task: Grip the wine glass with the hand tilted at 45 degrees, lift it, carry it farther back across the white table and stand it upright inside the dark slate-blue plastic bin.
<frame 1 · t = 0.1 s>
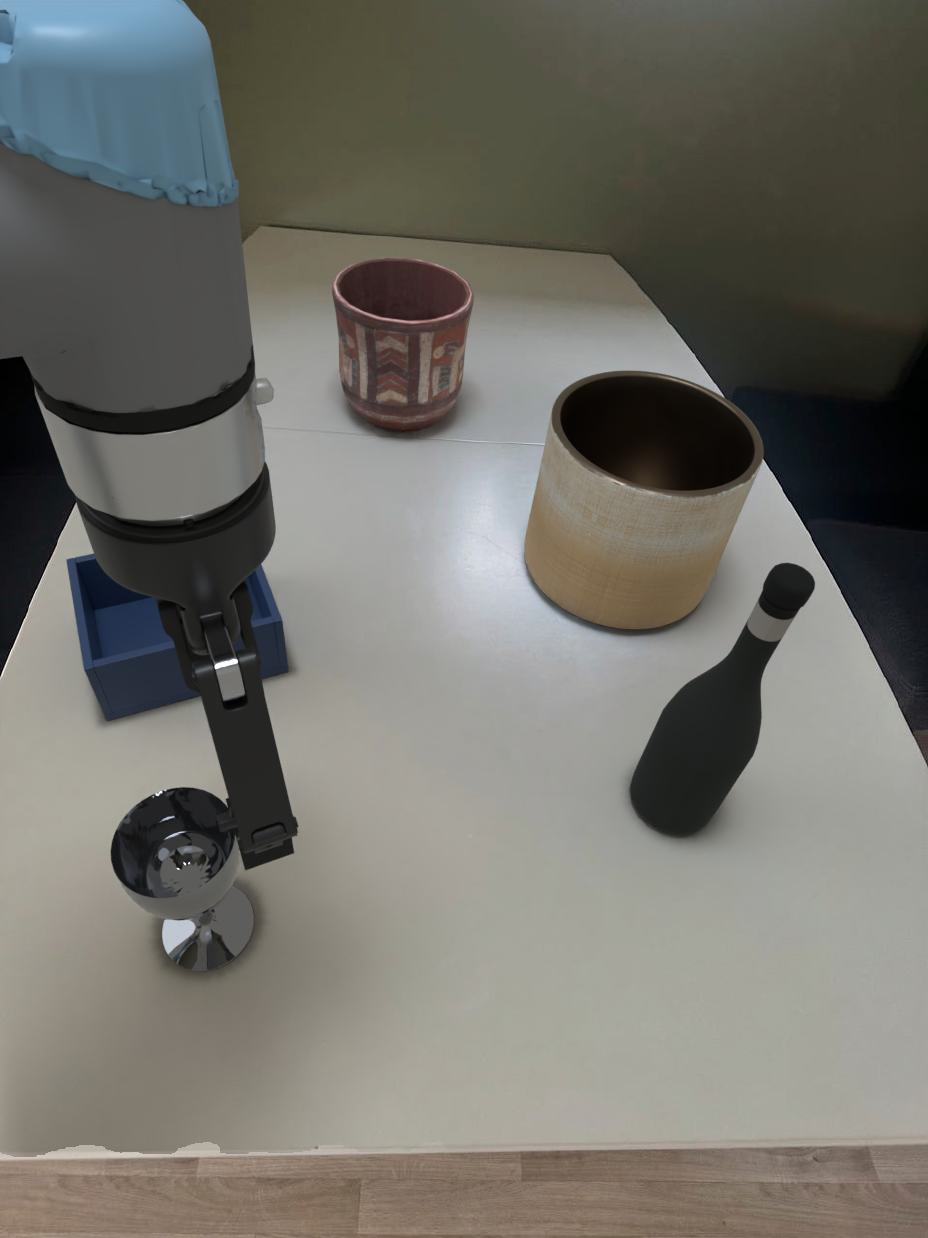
hand: (238, 756, 48), 24 cm above the table, tool pointing down, fingers open, 13 cm apart
planter: (612, 568, 96), on the table
wine bottle: (669, 800, 75), on the table
wine glass: (208, 926, 64), on the table
pottery: (400, 410, 114), on the table
bin: (186, 642, 83), on the table
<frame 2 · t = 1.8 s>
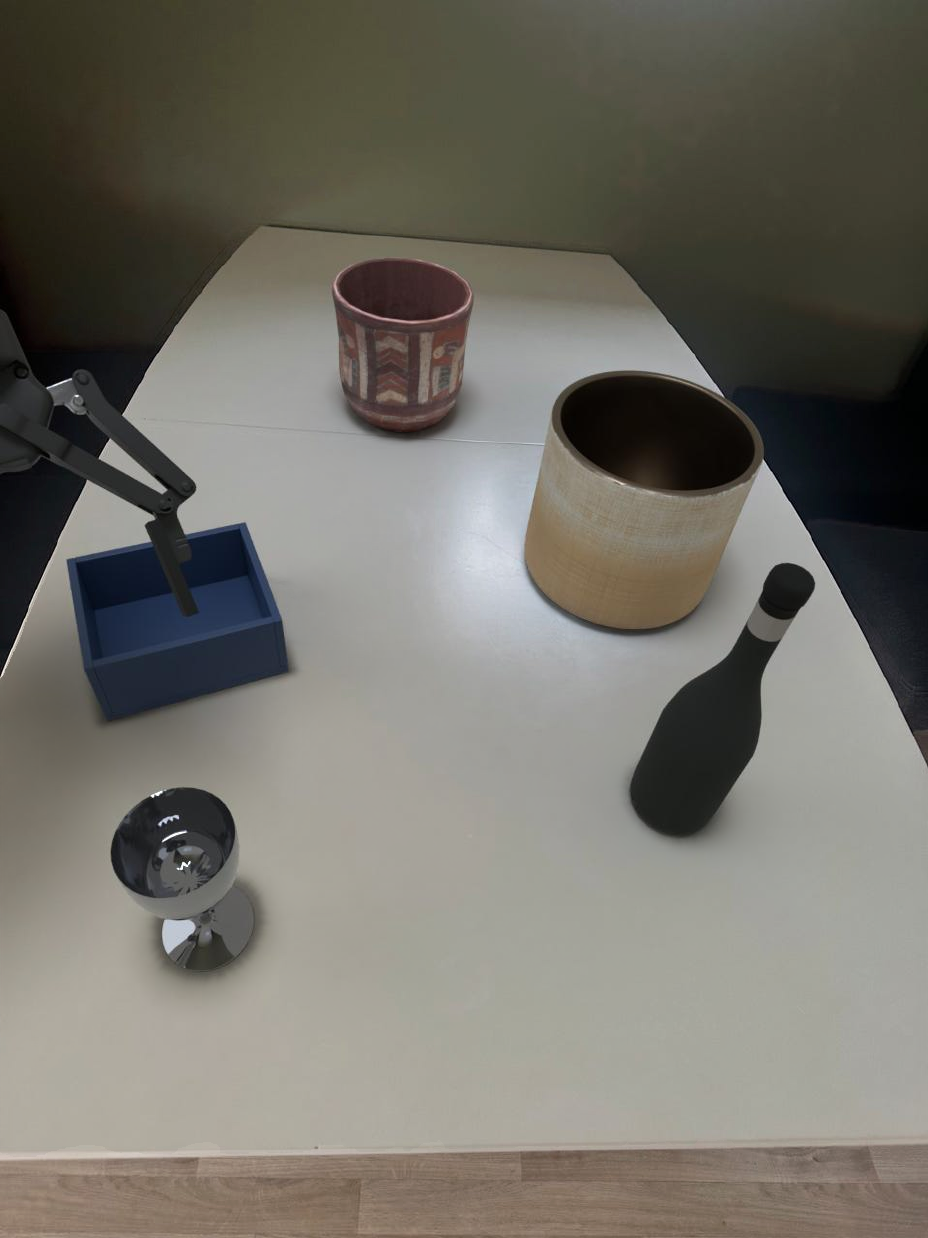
hand: (86, 655, 50), 25 cm above the table, tool tilted 45°, fingers open, 13 cm apart
nothing on the table moved.
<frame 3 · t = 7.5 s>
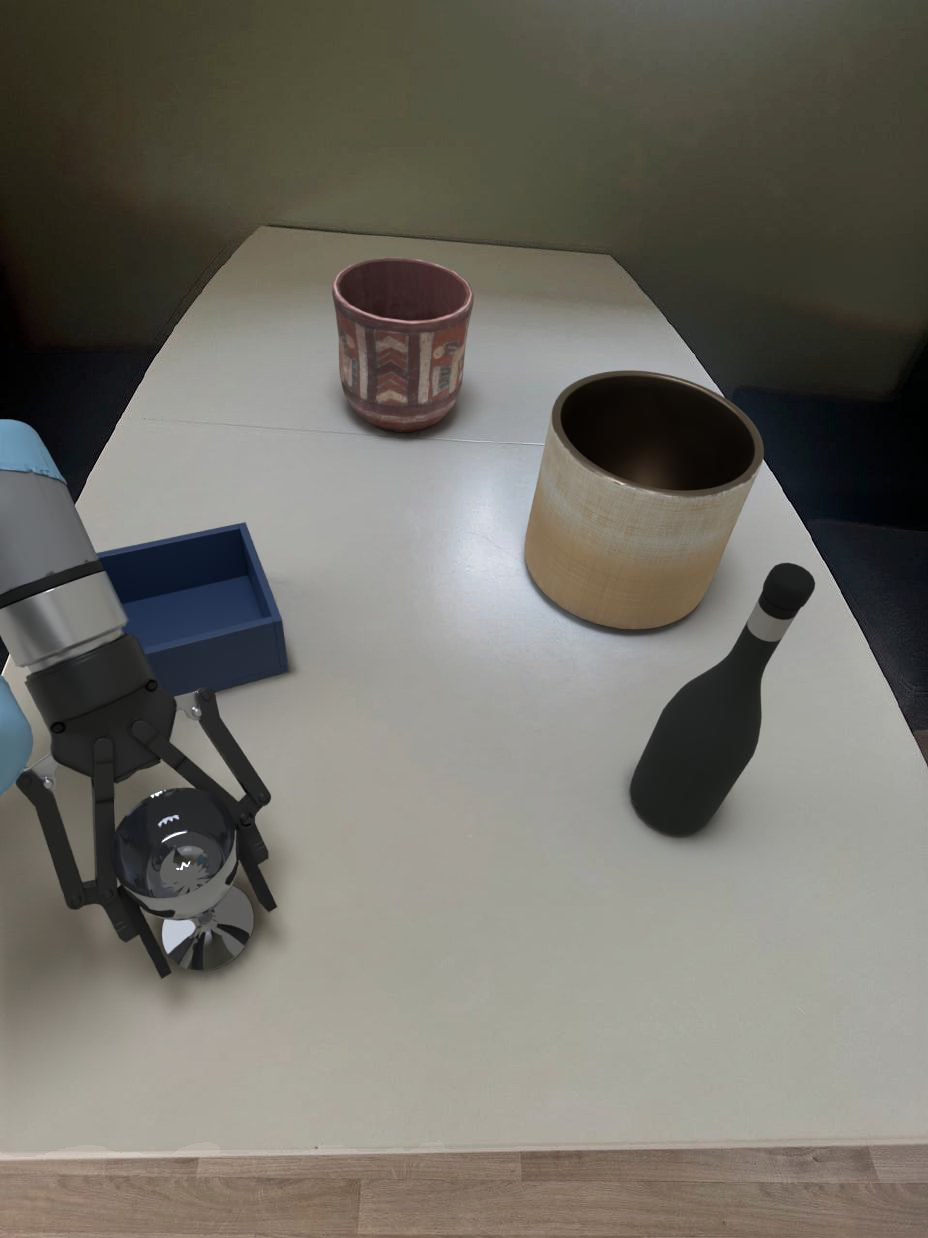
hand: (217, 935, 58), 6 cm above the table, tool tilted 45°, fingers closed on wine glass, 7 cm apart
wine glass: (208, 926, 64), on the table, touching gripper
everything else where it was.
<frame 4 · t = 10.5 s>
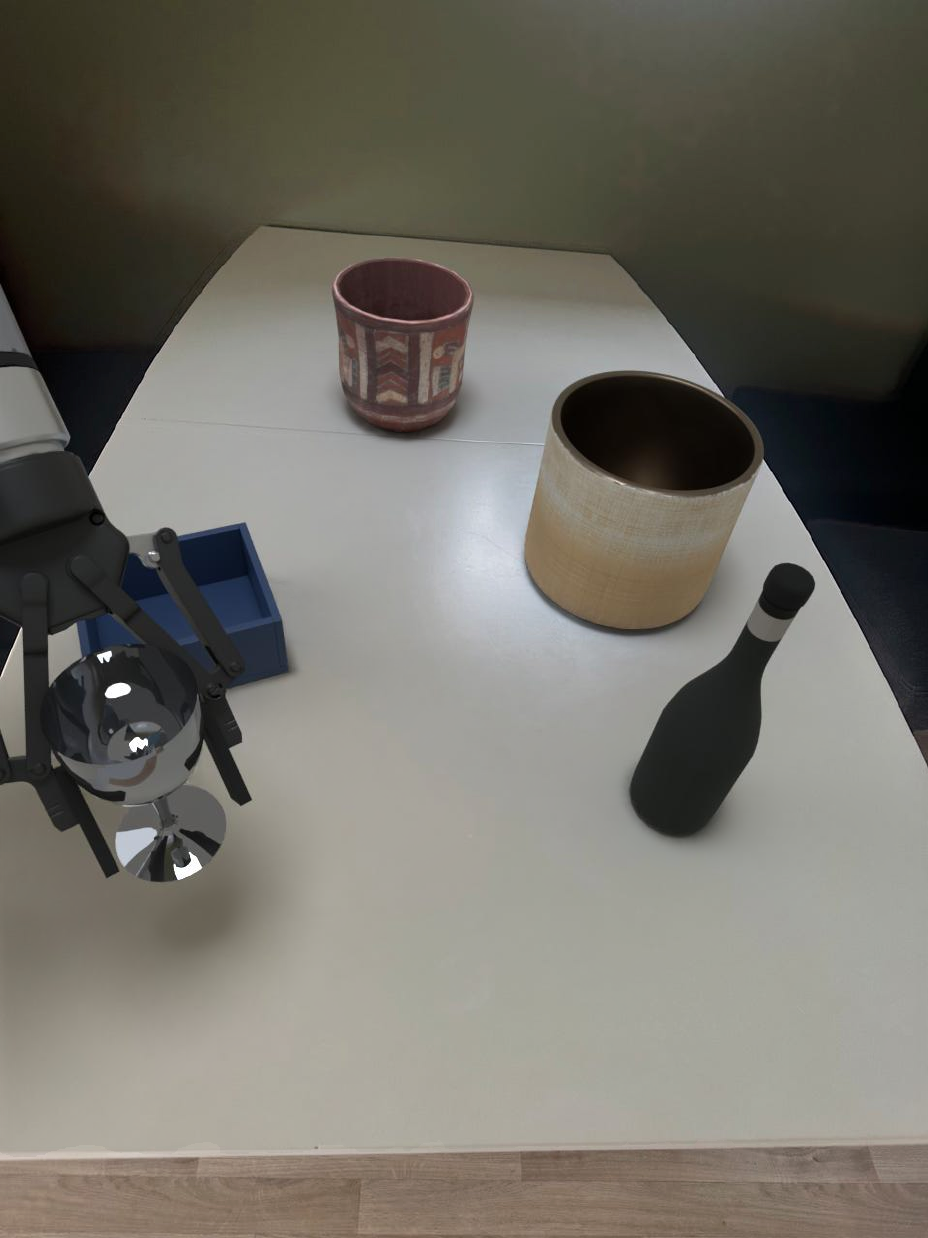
hand: (178, 832, 48), 20 cm above the table, tool tilted 45°, fingers closed on wine glass, 7 cm apart
wine glass: (172, 833, 54), point 14 cm above the table, touching gripper
everything else where it was.
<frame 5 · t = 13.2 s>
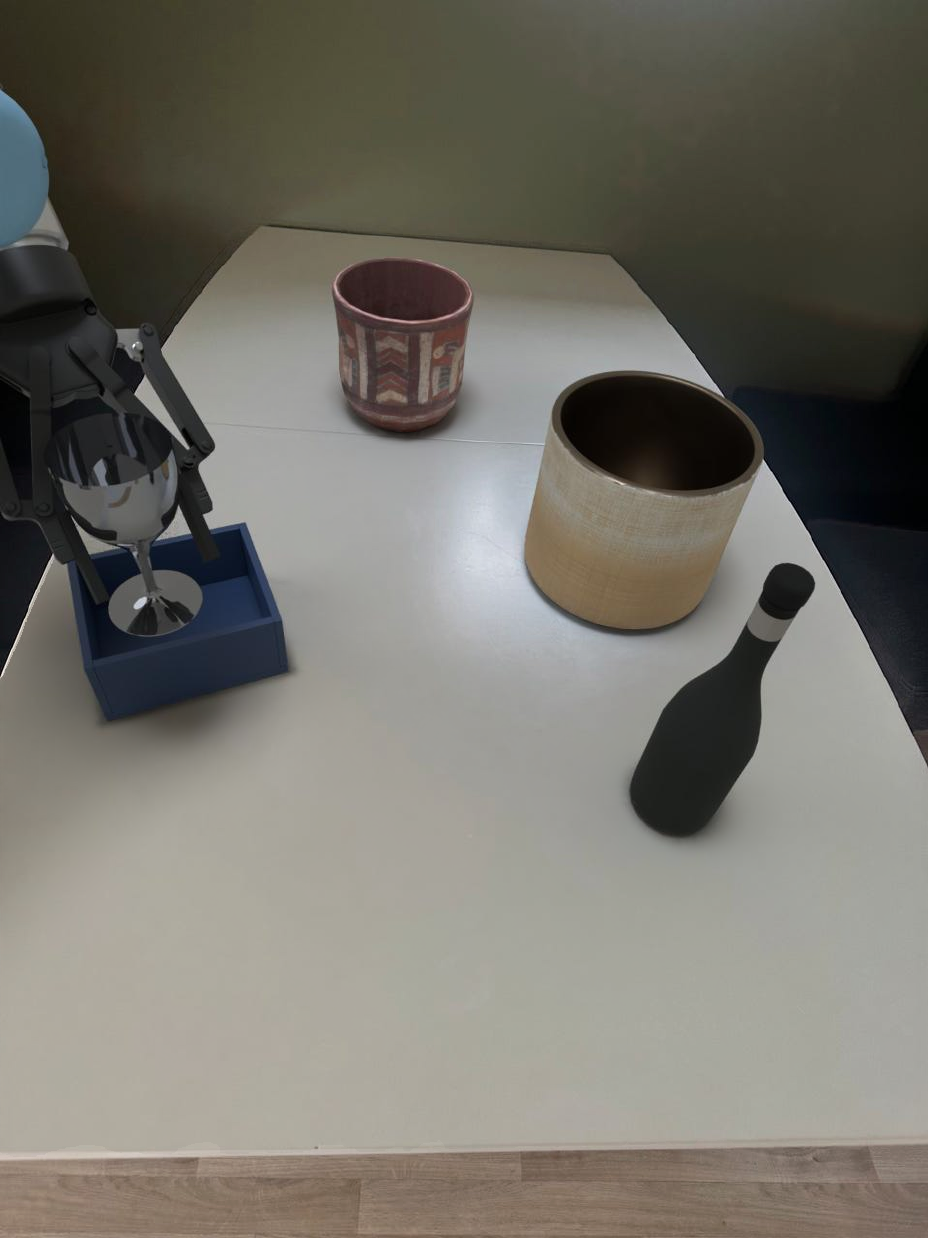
hand: (159, 579, 58), 23 cm above the table, tool tilted 45°, fingers closed on wine glass, 7 cm apart
wine glass: (156, 603, 64), point 17 cm above the table, touching gripper
everything else where it was.
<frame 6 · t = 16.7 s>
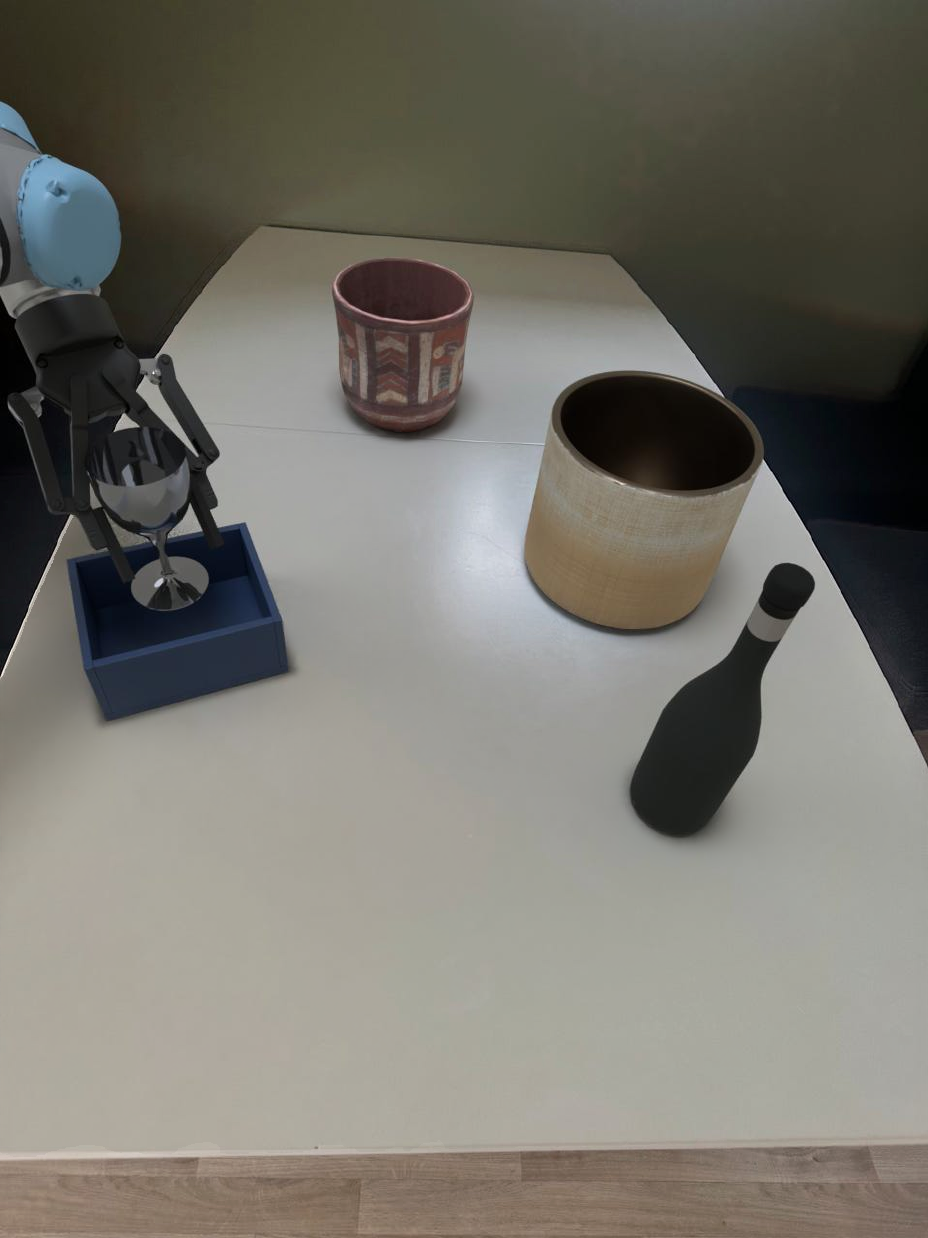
hand: (174, 563, 71), 14 cm above the table, tool tilted 45°, fingers closed on wine glass, 7 cm apart
wine glass: (170, 584, 77), point 9 cm above the table, touching gripper
everything else where it was.
when the fingers open (7 cm above the table, at t = 19.3 s): wine glass stays where it is, resting on bin.
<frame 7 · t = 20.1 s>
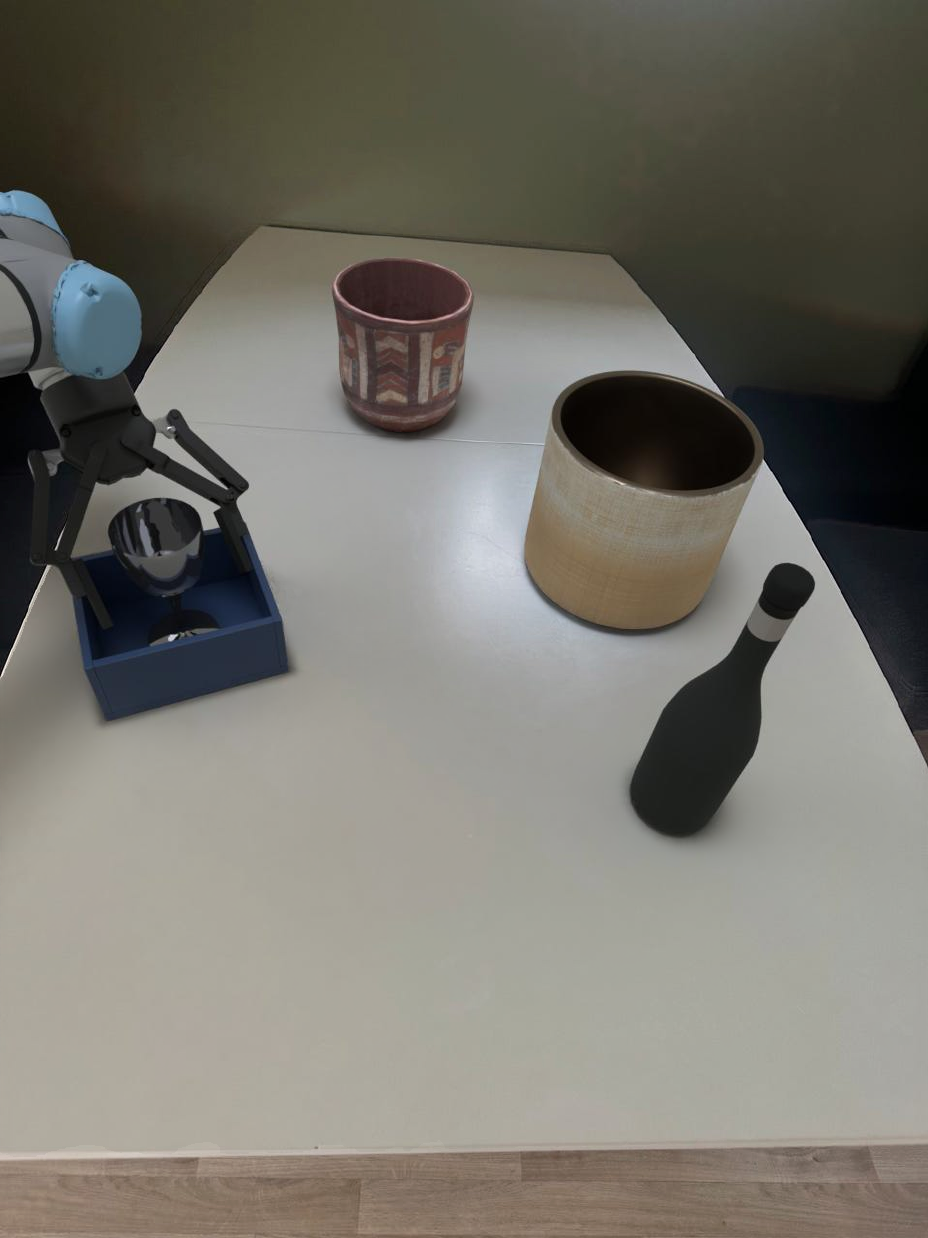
hand: (180, 599, 75), 9 cm above the table, tool tilted 45°, fingers open, 13 cm apart
wine glass: (184, 636, 82), point 1 cm above the table, touching bin
everything else where it was.
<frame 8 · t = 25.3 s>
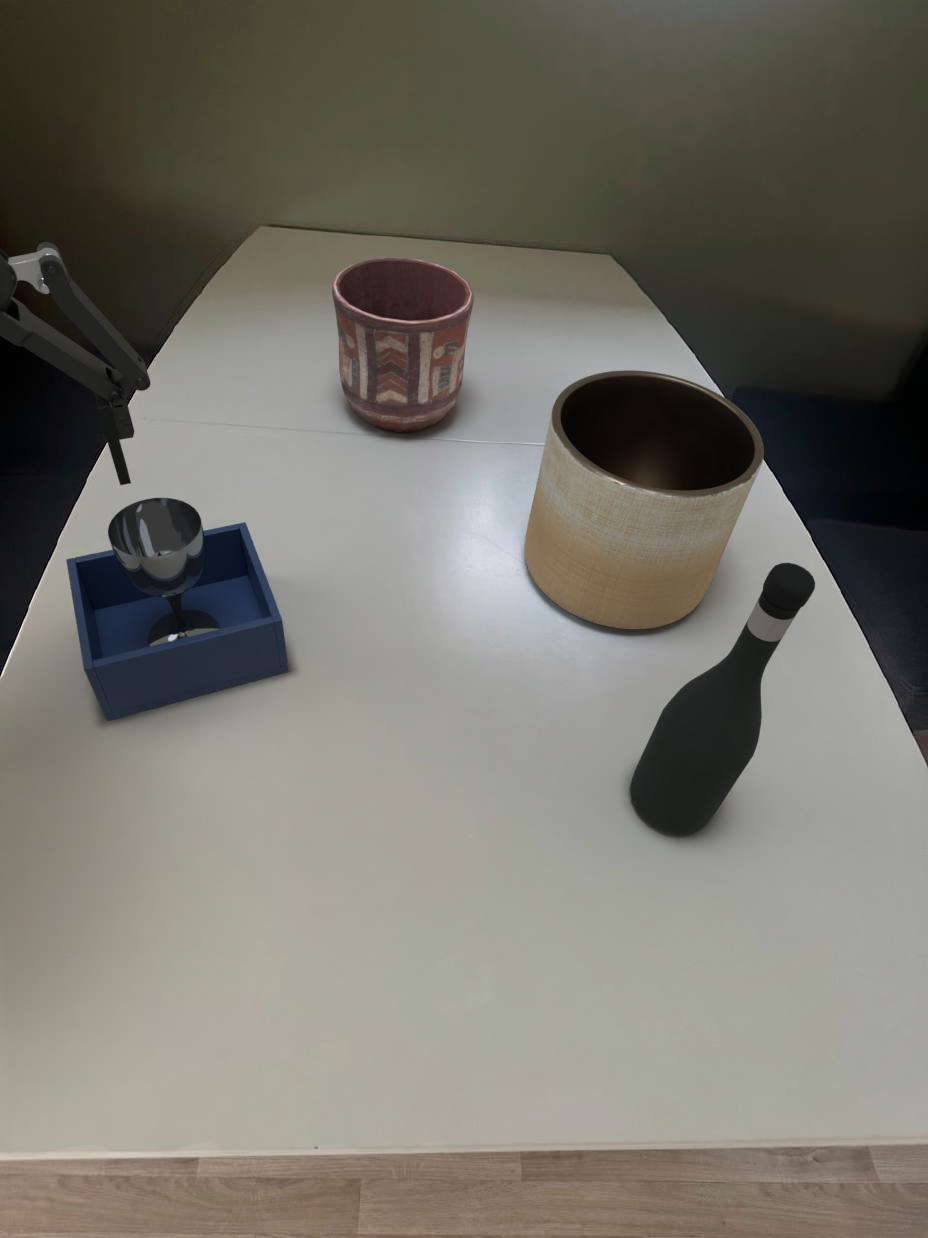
hand: (22, 491, 57), 27 cm above the table, tool pointing down, fingers open, 13 cm apart
nothing on the table moved.
at the end: wine glass inside the target area in the bin (0.0 cm from its centre), point 0.8 cm above the bin's base; wine glass tilted 0°; the gripper is holding nothing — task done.
